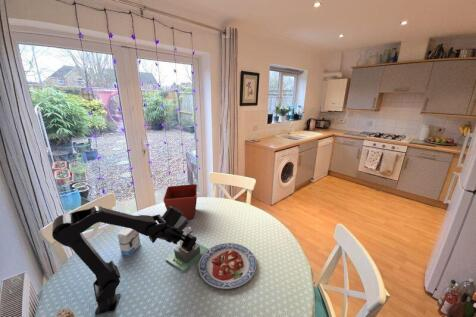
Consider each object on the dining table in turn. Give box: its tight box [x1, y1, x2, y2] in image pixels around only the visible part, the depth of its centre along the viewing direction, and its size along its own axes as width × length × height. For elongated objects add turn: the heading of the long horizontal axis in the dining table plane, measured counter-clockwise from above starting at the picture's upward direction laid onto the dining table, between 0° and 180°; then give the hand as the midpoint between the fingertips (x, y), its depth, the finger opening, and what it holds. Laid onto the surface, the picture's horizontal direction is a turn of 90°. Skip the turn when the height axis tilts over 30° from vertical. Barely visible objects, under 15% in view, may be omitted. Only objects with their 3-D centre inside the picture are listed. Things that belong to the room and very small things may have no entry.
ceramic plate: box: [198, 242, 257, 290], centre depth 92 cm, size 26×26×3 cm
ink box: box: [117, 227, 141, 256], centre depth 101 cm, size 8×5×12 cm, turn 168°
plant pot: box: [162, 183, 198, 220], centre depth 130 cm, size 19×19×17 cm
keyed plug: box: [179, 226, 194, 254], centre depth 97 cm, size 5×4×13 cm
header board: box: [165, 242, 209, 273], centre depth 98 cm, size 16×12×4 cm
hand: (188, 240), depth 98 cm, fingers open, 9 cm apart
